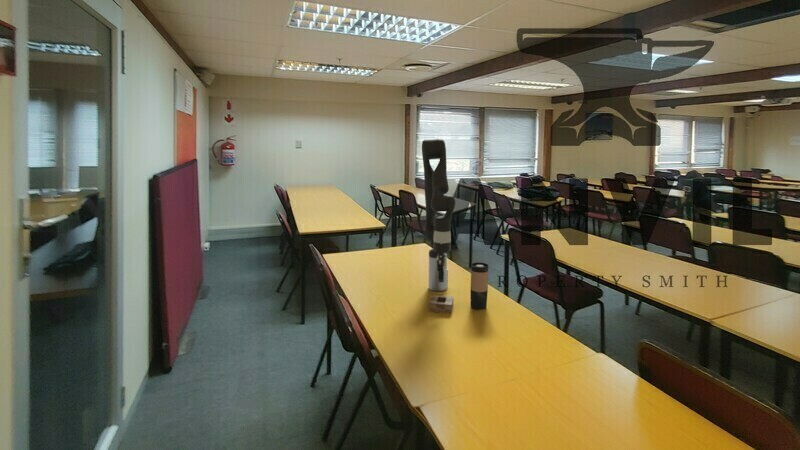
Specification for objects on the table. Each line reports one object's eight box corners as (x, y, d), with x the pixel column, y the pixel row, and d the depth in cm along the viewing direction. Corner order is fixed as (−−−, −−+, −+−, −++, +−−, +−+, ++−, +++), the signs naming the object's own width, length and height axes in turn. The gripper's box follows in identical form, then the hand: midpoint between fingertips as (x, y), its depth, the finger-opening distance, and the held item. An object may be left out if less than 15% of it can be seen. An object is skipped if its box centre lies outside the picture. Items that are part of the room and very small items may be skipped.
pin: (440, 279, 186) (441, 258, 184) (445, 281, 184) (446, 259, 182) (436, 281, 184) (437, 259, 182) (441, 282, 182) (441, 261, 180)
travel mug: (488, 305, 189) (490, 263, 185) (484, 311, 183) (486, 268, 179) (472, 302, 193) (473, 261, 189) (467, 308, 186) (469, 266, 182)
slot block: (432, 303, 192) (432, 295, 192) (453, 304, 190) (453, 296, 190) (428, 311, 183) (429, 303, 182) (451, 313, 181) (451, 304, 180)
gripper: (435, 236, 188) (435, 272, 191) (431, 243, 174) (430, 282, 178) (452, 237, 186) (451, 274, 190) (449, 244, 173) (448, 283, 176)
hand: (441, 277), depth 184 cm, fingers closed on pin, 2 cm apart
